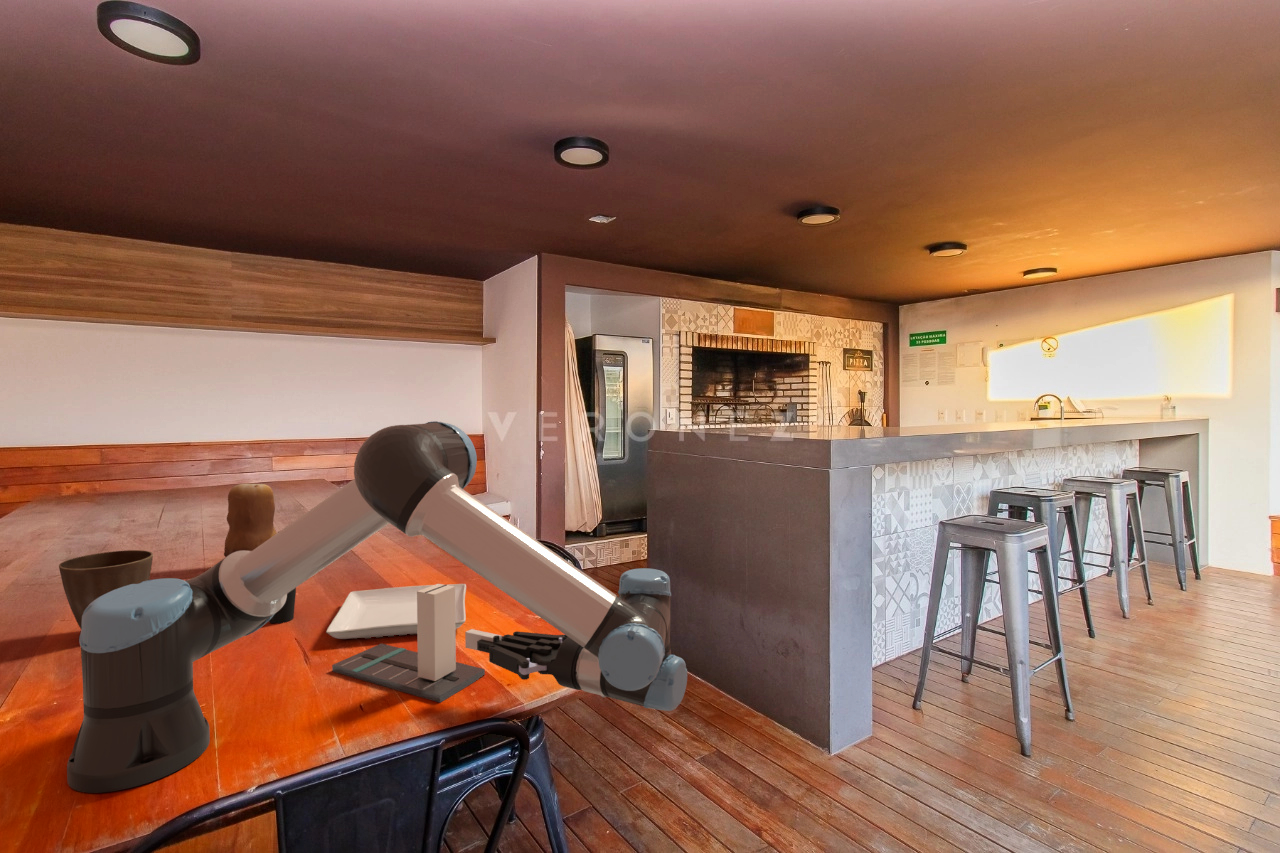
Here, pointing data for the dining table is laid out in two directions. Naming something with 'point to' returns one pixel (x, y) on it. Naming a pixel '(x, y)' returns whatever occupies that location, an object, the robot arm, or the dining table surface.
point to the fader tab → (436, 631)
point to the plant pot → (102, 576)
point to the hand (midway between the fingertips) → (468, 638)
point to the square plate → (386, 612)
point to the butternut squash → (249, 517)
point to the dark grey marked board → (405, 672)
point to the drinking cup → (285, 609)
